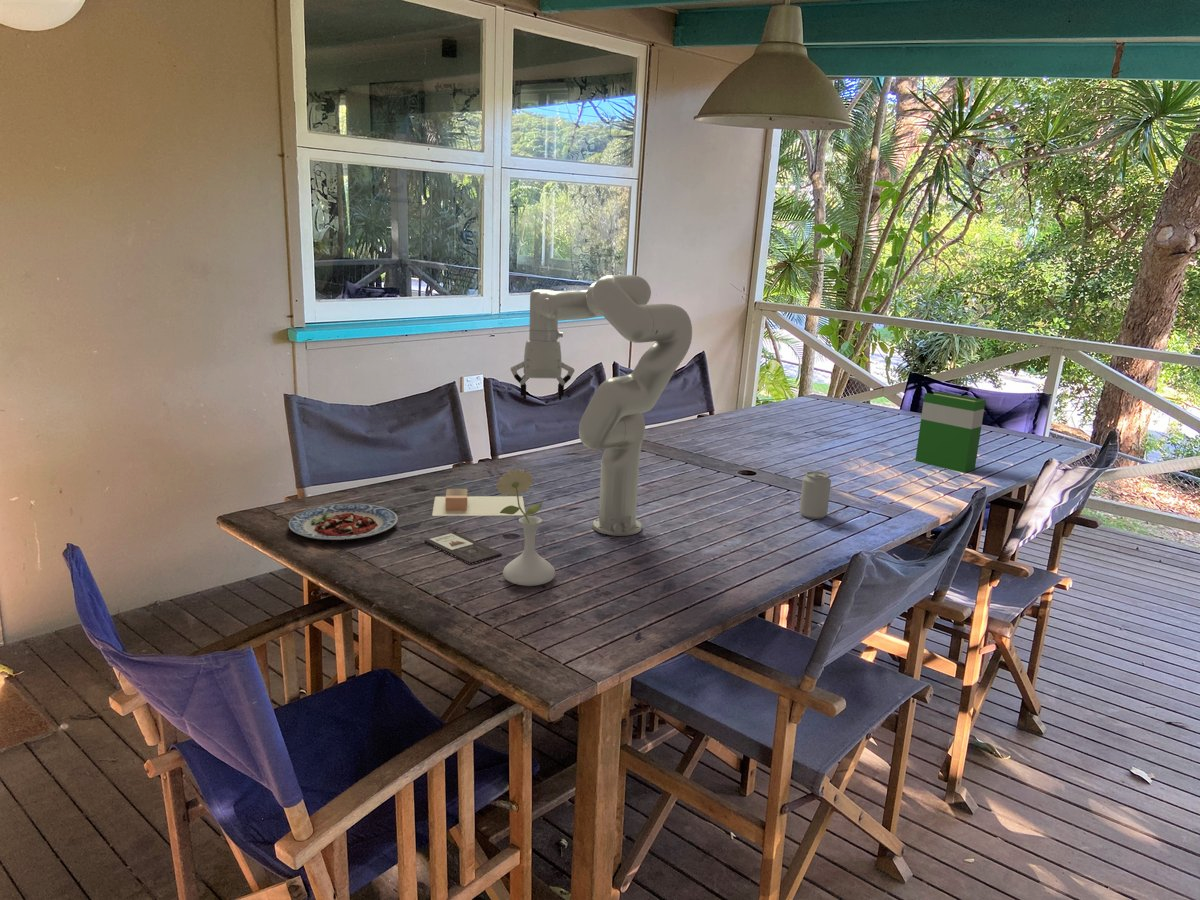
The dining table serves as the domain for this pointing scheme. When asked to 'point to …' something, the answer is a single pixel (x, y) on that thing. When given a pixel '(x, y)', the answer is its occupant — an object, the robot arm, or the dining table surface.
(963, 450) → the green cereal box
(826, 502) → the can
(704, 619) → the dining table surface
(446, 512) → the mat
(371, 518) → the ceramic plate
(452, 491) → the orange-brown block
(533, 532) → the flower in vase
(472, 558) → the chocolate bar
